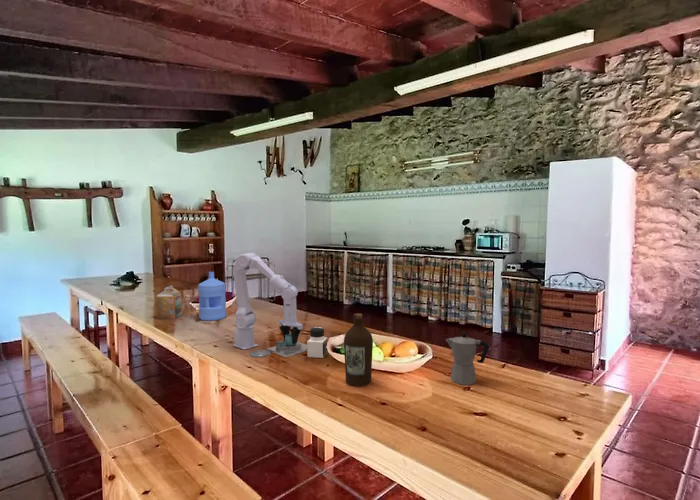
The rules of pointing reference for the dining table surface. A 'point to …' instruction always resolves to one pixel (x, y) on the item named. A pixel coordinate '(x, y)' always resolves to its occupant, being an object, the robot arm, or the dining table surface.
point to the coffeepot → (465, 358)
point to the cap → (287, 340)
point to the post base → (285, 353)
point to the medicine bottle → (317, 343)
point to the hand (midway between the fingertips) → (290, 342)
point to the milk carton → (169, 304)
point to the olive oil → (358, 353)
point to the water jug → (212, 299)
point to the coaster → (260, 353)
